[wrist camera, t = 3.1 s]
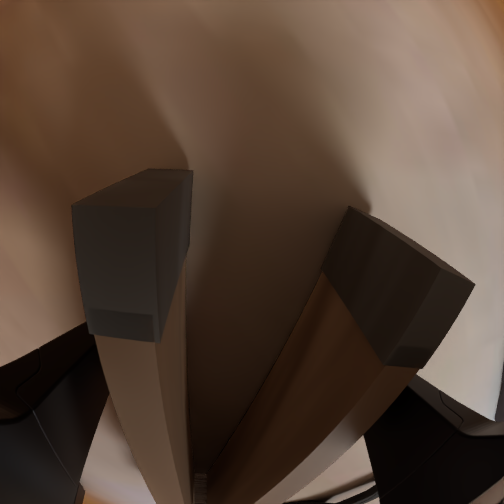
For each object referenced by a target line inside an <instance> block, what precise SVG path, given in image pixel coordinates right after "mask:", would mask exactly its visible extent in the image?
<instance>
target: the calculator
mask: <svg viewBox="0 0 504 504" xmlns="http://www.w3.org/2000/svg"><path fill="white" fill-rule="evenodd" d="M502 384H503V385H502V389H501V393H500V397H499V401H498V405H497V410H496V414H495V421H496V422H504V364H503V373H502Z"/></svg>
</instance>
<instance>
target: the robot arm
mask: <svg viewBox="0 0 504 504" xmlns="http://www.w3.org/2000/svg"><path fill="white" fill-rule="evenodd" d="M109 393H110V392H109V389H108V385H107V382H106V379H105V375H104V372H103V368H102V365H101V361H100V357H99V353H98V349H97V345H96V341H95V336H94V334H89V330H88V325H87V321H86V322H84V323H83V324H81V325H79V326H77V327H75V328H73V329H72V330H70V331H68V332H66V333H64V334H62V335H61V336H59V337H57V338H55V339H53V340H52V341H50V342H48V343H46V344H44V345H43V346H41V347H39V349H35V350H33V351H32V352H30V353H28V354H26V355H24V356H22V357H20V358H18V359H17V360H14V361H12V362H10V363H8V364H6V365H4V366H1V367H0V504H82V503H83V499H84V494H85V490H84V489H83V487H82V486H81V484H80V483H79V482H80V478H81V475H82V472H83V468H84V465H85V462H86V459H87V456H88V452H89V449H90V446H91V443H92V440H93V437H94V434H95V432H96V429H97V426H98V423H99V420H100V417H101V415H102V412H103V409H104V406H105V404H106V401H107V398H108V396H109ZM363 435H364V439H365V443H366V447H367V450H368V454H369V458H370V462H371V466H372V470H373V474H374V478H375V483H376V487H377V491H378V496H379V501H380V504H504V422H496V421H492V420H490V419H488V418H486V417H484V416H482V415H480V414H479V413H477V412H475V411H473V410H472V409H470V408H468V407H466V406H465V405H463V404H461V403H459V402H458V401H456V400H454V399H453V398H451V397H450V396H448V395H447V394H445V393H444V392H442V391H441V390H438V388H436V387H435V386H433V385H432V384H430V383H429V382H427V381H426V380H424V379H423V378H421V377H420V376H418V375H417V374H415V376H414V377H413V378H412V380H411V381H410V382H409V383H408V385H407V386H406V387H405V388H404V390H403V391H402V392H401V393H400V395H399V396H398V397H397V398H396V399H395V401H394V402H393V403H392V404H391V405H390V406H389V407H388V409H387V410H386V411H385V412H384V413H383V414H382V415H381V416H380V418H379V419H378V420H377V421H376V422H375V423H374V424H373V425H372V426H371V427H370V428H369V429H368V430H367V431H366V432H365V433H364V434H363Z"/></svg>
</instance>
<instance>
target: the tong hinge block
mask: <svg viewBox="0 0 504 504" xmlns="http://www.w3.org/2000/svg"><path fill="white" fill-rule="evenodd" d="M194 504H207V474H201V473H195V484H194Z"/></svg>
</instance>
